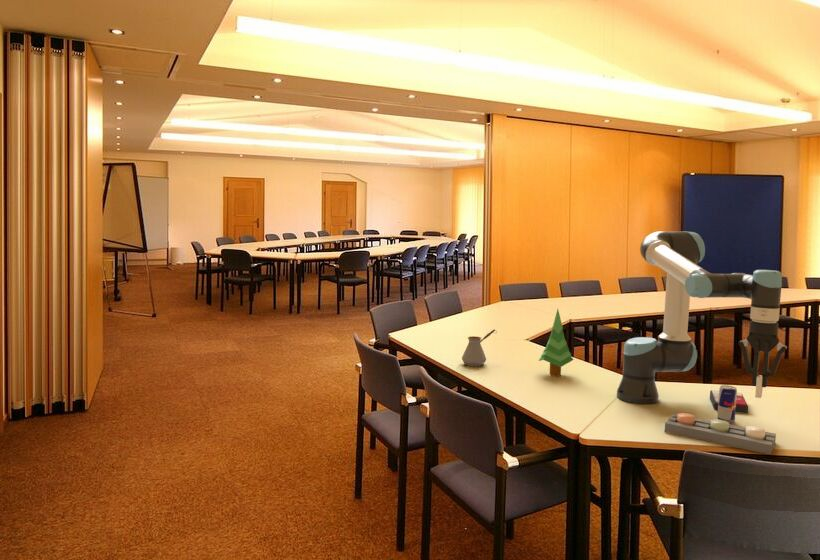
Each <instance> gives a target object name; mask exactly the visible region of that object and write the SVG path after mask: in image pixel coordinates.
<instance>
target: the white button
mask: <svg viewBox="0 0 820 560" xmlns="http://www.w3.org/2000/svg"><path fill="white" fill-rule="evenodd" d="M745 428H746V434H745V437H750V438H755V439H760V440H765V432H766V430H765V429H764V428H761V427H758V426H753V425H748V426H745Z"/></svg>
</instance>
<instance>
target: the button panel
mask: <svg viewBox="0 0 820 560" xmlns="http://www.w3.org/2000/svg"><path fill="white" fill-rule="evenodd" d="M677 416H678V413H673V415H672V416H671V417H669V418H668V420H666V421H665V422H664V433H668V434H671V435H672V434H673V435H678V436H682V437H686V438H692V439H695V440H700V441H705V442H710V443H714V444H719V445H724V446H729V447H733V448H738V449H742V450H746V451H751V452H752V451H753V452H756V453H760V454H766V455H772V453H773V450H774V446H775V444H776V439H777V433H774V432H769V431H765V440H760V439H755V438H750V437H745V434H746V426H745V427H743V426H738V425H733V424H729V430H728V433H726V432H721V431H716V430H711V429H710V424H711V420H708V419H704V418H697V417H695V423H694V426H692V425H687V424H682V423H677Z"/></svg>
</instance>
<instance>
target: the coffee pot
mask: <svg viewBox="0 0 820 560" xmlns="http://www.w3.org/2000/svg"><path fill="white" fill-rule="evenodd" d="M497 332H498V331H497V330H496V329H492V330H491V331H490V332H489V333H487V334H486V335H485V336H484V337H483V338H482V337H480V336H468V337H467V339H468V343H467V346H466V348H465V350H464V352H463V354H462V357H461V360H462V362H463V363H464V364H465V365H466V366H468V367H482V366H483V364H485V363H486V361H487V356H486V355H485V352H484V349H483V347H482V344H481V343H482V342H483V341H484V340H486V339H488V337H490V336H491V335H492V334H494V333H495V334H497ZM481 365H482V366H481Z"/></svg>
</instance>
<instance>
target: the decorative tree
mask: <svg viewBox="0 0 820 560" xmlns="http://www.w3.org/2000/svg"><path fill="white" fill-rule="evenodd" d="M553 320H554V321H553V324H552V328H551V331H550V334H549V335H550V336H549V338H548V341H547V344H546V346H545V348H544V349H543V351H542V353H541V355H540V357H539V359H538V361H539V362H540V361H545V362H548V363H549V375H550V376H551V377H560V376H562V367H564V366H566V365H567V364H569V363H571V362H572V361H574V358H573V357H572V353H571V352H570V348H569V347H568V343H567V340H566V339H565V333H564V331H563V329H564V327H563V324H562V320H561V315H560V312H559V308H557V310H556V312H555V317H554V319H553Z"/></svg>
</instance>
